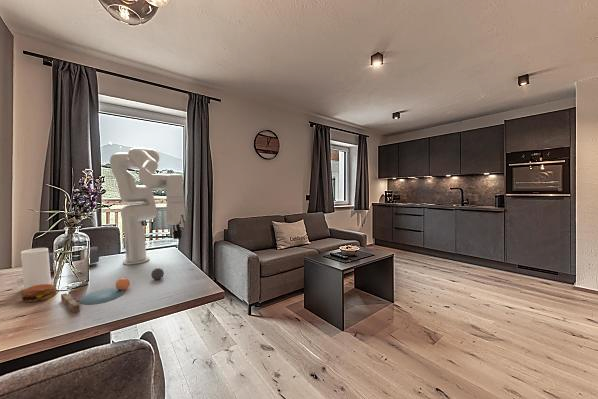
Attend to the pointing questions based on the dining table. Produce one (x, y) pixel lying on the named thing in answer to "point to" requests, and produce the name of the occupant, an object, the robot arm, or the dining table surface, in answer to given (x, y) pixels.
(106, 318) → the dining table surface
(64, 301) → the stopper wall
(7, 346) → the dining table surface
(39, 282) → the cup
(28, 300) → the burger
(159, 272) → the dark grey sphere
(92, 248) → the bluetooth speaker
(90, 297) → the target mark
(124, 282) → the object ball
